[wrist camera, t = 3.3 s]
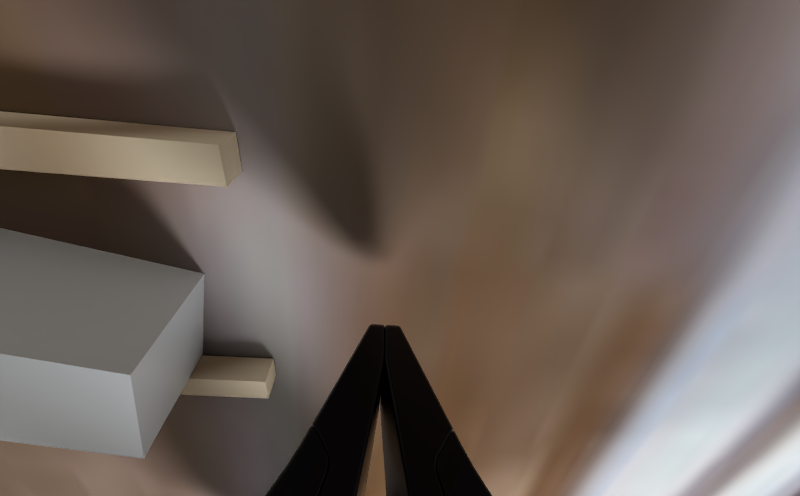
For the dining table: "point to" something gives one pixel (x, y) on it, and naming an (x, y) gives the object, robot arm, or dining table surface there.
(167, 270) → the gray rectangular bar
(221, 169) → the guide rails
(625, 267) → the dining table surface
